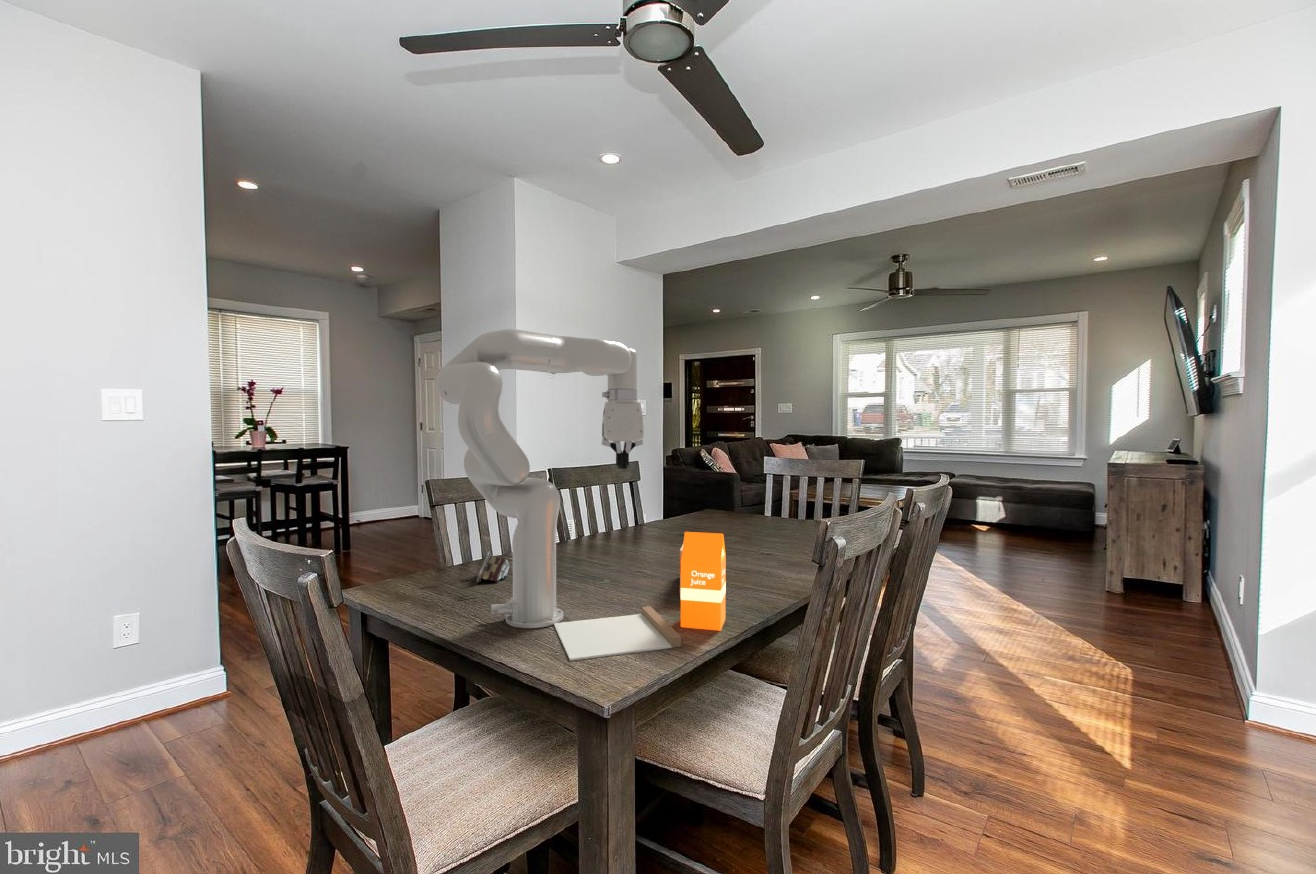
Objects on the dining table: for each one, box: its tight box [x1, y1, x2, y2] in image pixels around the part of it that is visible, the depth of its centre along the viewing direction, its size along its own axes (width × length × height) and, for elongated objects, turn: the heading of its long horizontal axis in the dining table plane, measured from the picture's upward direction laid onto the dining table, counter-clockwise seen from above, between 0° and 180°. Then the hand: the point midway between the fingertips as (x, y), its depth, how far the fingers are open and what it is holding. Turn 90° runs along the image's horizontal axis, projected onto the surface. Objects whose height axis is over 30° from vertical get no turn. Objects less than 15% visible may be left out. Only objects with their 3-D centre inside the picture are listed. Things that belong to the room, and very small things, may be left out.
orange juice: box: [680, 531, 727, 632], centre depth 131 cm, size 8×9×20 cm
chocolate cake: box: [476, 549, 510, 583], centre depth 166 cm, size 10×7×12 cm
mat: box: [553, 605, 682, 662], centre depth 124 cm, size 22×20×2 cm
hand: (622, 468), depth 153 cm, fingers closed
